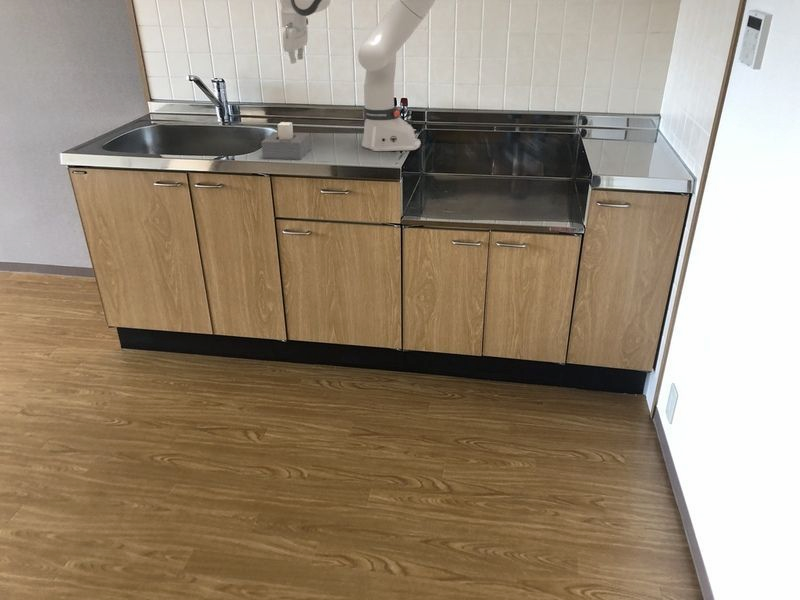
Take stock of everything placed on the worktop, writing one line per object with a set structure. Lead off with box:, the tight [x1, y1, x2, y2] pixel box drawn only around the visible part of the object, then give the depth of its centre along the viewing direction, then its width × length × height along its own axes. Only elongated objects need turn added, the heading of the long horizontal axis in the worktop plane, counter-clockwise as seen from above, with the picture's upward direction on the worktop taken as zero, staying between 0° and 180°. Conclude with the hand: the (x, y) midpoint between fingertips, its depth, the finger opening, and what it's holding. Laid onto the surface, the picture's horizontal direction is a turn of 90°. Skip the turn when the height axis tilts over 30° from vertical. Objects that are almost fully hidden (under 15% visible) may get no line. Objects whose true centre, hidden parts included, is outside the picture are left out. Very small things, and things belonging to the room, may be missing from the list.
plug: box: [277, 121, 294, 140], centre depth 244 cm, size 4×4×11 cm
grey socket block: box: [260, 131, 312, 161], centre depth 245 cm, size 14×14×6 cm
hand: (297, 61), depth 252 cm, fingers open, 8 cm apart
